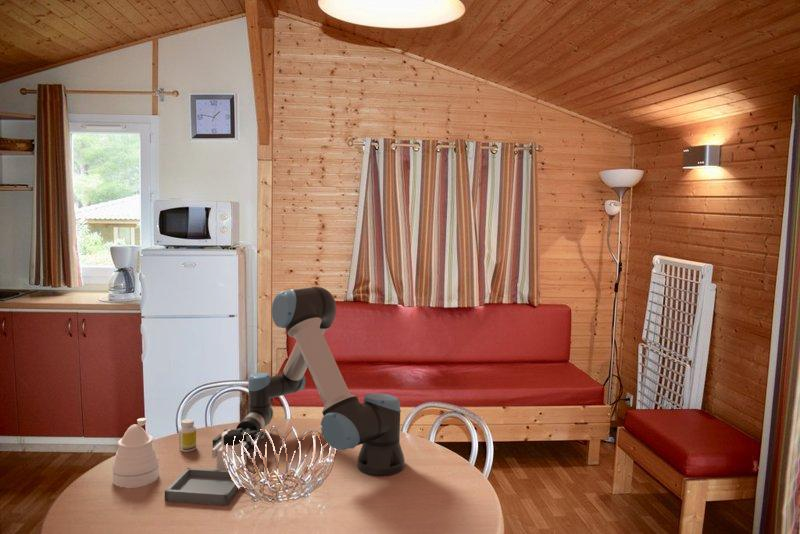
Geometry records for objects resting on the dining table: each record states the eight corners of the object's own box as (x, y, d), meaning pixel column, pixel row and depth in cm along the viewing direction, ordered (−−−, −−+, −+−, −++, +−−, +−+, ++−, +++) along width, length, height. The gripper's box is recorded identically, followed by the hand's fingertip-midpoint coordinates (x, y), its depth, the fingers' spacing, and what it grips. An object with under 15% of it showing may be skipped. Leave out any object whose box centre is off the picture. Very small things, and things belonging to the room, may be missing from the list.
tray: (245, 481, 188) (245, 471, 188) (227, 505, 174) (227, 495, 173) (187, 477, 190) (187, 467, 190) (164, 501, 175) (164, 490, 175)
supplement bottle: (199, 448, 212) (199, 420, 211) (186, 453, 208) (186, 425, 206) (189, 444, 215) (188, 417, 214) (175, 449, 210) (175, 421, 209)
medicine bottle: (246, 464, 200) (246, 428, 198) (238, 474, 193) (238, 436, 191) (225, 463, 200) (224, 427, 199) (216, 472, 193) (215, 435, 192)
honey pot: (154, 465, 198) (152, 410, 196) (163, 481, 187) (161, 423, 185) (109, 474, 191) (107, 417, 189) (116, 491, 180) (114, 431, 178)
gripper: (279, 439, 213) (257, 468, 190) (222, 436, 215) (194, 464, 192) (279, 418, 212) (257, 444, 190) (221, 415, 214) (193, 441, 191)
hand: (225, 454), depth 191 cm, fingers closed on medicine bottle, 7 cm apart
